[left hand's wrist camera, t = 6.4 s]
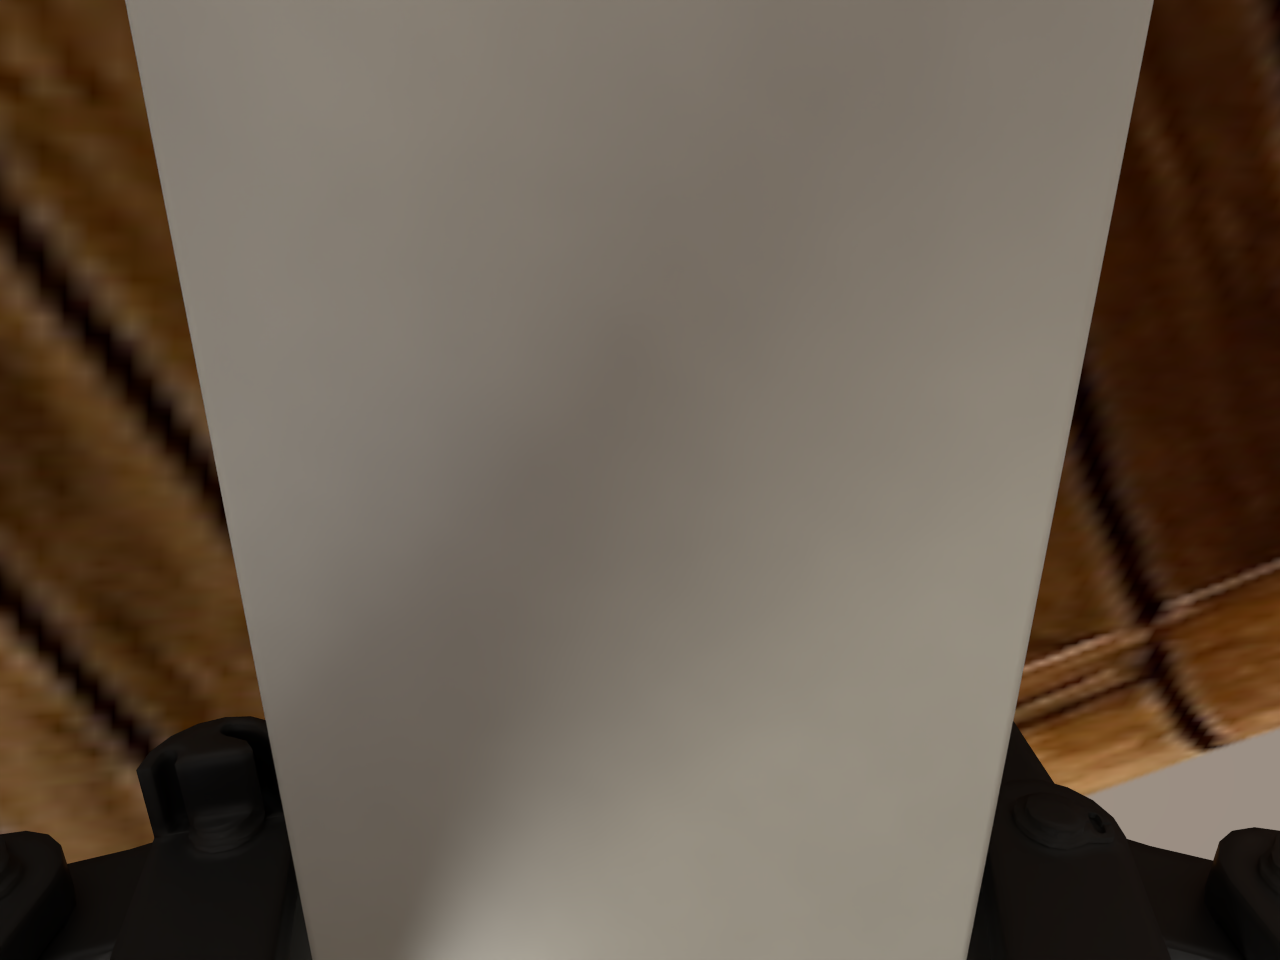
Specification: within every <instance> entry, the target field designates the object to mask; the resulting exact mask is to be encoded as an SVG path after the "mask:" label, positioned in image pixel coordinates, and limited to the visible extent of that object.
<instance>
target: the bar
mask: <svg viewBox="0 0 1280 960" xmlns="http://www.w3.org/2000/svg"><path fill="white" fill-rule="evenodd" d="M1153 1H1154V0H125V2H126V7H127V12H128V17H129V23H130V28H131V33H132V38H133V43H134V48H135V53H136V58H137V64H138V69H139V74H140V79H141V84H142V89H143V94H144V99H145V105H146V110H147V115H148V120H149V125H150V130H151V135H152V140H153V146H154V151H155V156H156V161H157V166H158V171H159V176H160V181H161V187H162V192H163V197H164V202H165V207H166V212H167V217H168V222H169V227H170V233H171V238H172V243H173V248H174V253H175V258H176V263H177V268H178V274H179V279H180V284H181V289H182V294H183V299H184V304H185V309H186V315H187V320H188V325H189V330H190V335H191V340H192V345H193V350H194V356H195V361H196V366H197V371H198V376H199V381H200V386H201V391H202V397H203V402H204V407H205V412H206V417H207V422H208V427H209V432H210V438H211V443H212V448H213V453H214V458H215V463H216V468H217V473H218V478H219V484H220V489H221V494H222V499H223V504H224V509H225V514H226V519H227V525H228V530H229V535H230V540H231V545H232V550H233V555H234V560H235V566H236V571H237V576H238V581H239V586H240V591H241V596H242V601H243V607H244V612H245V617H246V622H247V627H248V632H249V637H250V642H251V648H252V653H253V658H254V663H255V668H256V673H257V678H258V683H259V689H260V694H261V699H262V704H263V709H264V714H265V719H266V724H267V729H268V735H269V740H270V745H271V750H272V755H273V760H274V765H275V770H276V776H277V781H278V786H279V791H280V796H281V801H282V806H283V811H284V817H285V822H286V827H287V832H288V837H289V842H290V847H291V852H292V858H293V863H294V868H295V873H296V878H297V883H298V888H299V893H300V899H301V904H302V909H303V914H304V919H305V924H306V929H307V934H308V940H309V945H310V950H311V955H312V960H967V954H968V949H969V944H970V939H971V934H972V929H973V924H974V919H975V913H976V908H977V903H978V898H979V893H980V888H981V883H982V878H983V872H984V867H985V862H986V857H987V852H988V847H989V842H990V837H991V831H992V826H993V821H994V816H995V811H996V806H997V801H998V795H999V790H1000V785H1001V780H1002V775H1003V770H1004V765H1005V760H1006V754H1007V749H1008V744H1009V739H1010V734H1011V729H1012V724H1013V719H1014V713H1015V708H1016V703H1017V698H1018V693H1019V688H1020V683H1021V678H1022V672H1023V667H1024V662H1025V657H1026V652H1027V647H1028V642H1029V637H1030V631H1031V626H1032V621H1033V616H1034V611H1035V606H1036V601H1037V596H1038V590H1039V585H1040V580H1041V575H1042V570H1043V565H1044V560H1045V555H1046V549H1047V544H1048V539H1049V534H1050V529H1051V524H1052V519H1053V513H1054V508H1055V503H1056V498H1057V493H1058V488H1059V483H1060V478H1061V472H1062V467H1063V462H1064V457H1065V452H1066V447H1067V442H1068V437H1069V431H1070V426H1071V421H1072V416H1073V411H1074V406H1075V401H1076V396H1077V390H1078V385H1079V380H1080V375H1081V370H1082V365H1083V360H1084V355H1085V349H1086V344H1087V339H1088V334H1089V329H1090V324H1091V319H1092V314H1093V308H1094V303H1095V298H1096V293H1097V288H1098V283H1099V278H1100V273H1101V267H1102V262H1103V257H1104V252H1105V247H1106V242H1107V237H1108V232H1109V226H1110V221H1111V216H1112V211H1113V206H1114V201H1115V196H1116V190H1117V185H1118V180H1119V175H1120V170H1121V165H1122V160H1123V155H1124V149H1125V144H1126V139H1127V134H1128V129H1129V124H1130V119H1131V114H1132V108H1133V103H1134V98H1135V93H1136V88H1137V83H1138V78H1139V73H1140V67H1141V62H1142V57H1143V52H1144V47H1145V42H1146V37H1147V32H1148V26H1149V21H1150V16H1151V11H1152V6H1153Z"/></svg>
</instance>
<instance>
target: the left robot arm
mask: <svg viewBox="0 0 1280 960" xmlns="http://www.w3.org/2000/svg"><path fill="white" fill-rule="evenodd" d="M136 771H137V775H138V778H139V782H140V786H141V789H142V793H143V797H144V801H145V804H146V808H147V812H148V815H149V819H150V823H151V826H152V830H153V834H154V841H153V843H149V844H146V845H143V846H140V847H136V848H133V849H130V850H126V851H121V852H117V853H113V854H108V855H104V856H100V857H96V858H91V859H87V860H83V861H78V862H74V863H70V864H67V863H66V859H65V856H64V853H63V850H62V847H61V845H60V844H59V843H58V842H57V841H55V840H54V839H53V838H52V837H51V836H50V835H48V834H42V833H36V832H30V831H22V832H15V833H7V834H0V960H312V955H311V950H310V945H309V940H308V934H307V929H306V924H305V919H304V914H303V909H302V904H301V899H300V893H299V888H298V883H297V878H296V873H295V868H294V863H293V858H292V852H291V847H290V842H289V837H288V832H287V827H286V822H285V817H284V811H283V806H282V801H281V796H280V791H279V786H278V781H277V776H276V770H275V765H274V760H273V755H272V750H271V745H270V740H269V735H268V729H267V724H266V720H263V719H259V718H255V717H251V716H247V717H224V718H220V719H216V720H212V721H208V722H204V723H200V724H197V725H195V726H192V727H190V728H188V729H186V730H184V731H181V732H179V733H177V734H175V735H173V736H171V737H169V738H168V739H167V740H165V741H164V742H163V743H161V744H160V745H159V746H157V747H156V748H155V749H153V750H152V751H151V752H149V754H148V755H147V756H146V758H145V759H144V760H143V762H142V763H141V765H140V766H139V767H138V769H137V770H136ZM967 960H1280V831H1277V830H1270V829H1263V828H1256V827H1253V828H1247V829H1241V830H1235V831H1231V832H1230V833H1229V834H1228V835H1227V836H1226V837H1224V838H1223V839H1222V840H1221V841H1220V842H1219V845H1218V848H1217V851H1216V854H1215V857H1214V860H1213V861H1212V860H1208V859H1203V858H1199V857H1195V856H1191V855H1186V854H1182V853H1178V852H1173V851H1169V850H1165V849H1160V848H1156V847H1152V846H1148V845H1145V844H1142V843H1138V842H1135V841H1132V840H1128V839H1126V837H1125V835H1124V833H1123V832H1122V830H1121V829H1120V827H1119V826H1118V824H1117V822H1116V821H1115V819H1114V818H1113V817H1112V816H1111V815H1110V814H1108V813H1107V812H1106V811H1105V810H1104V809H1103V808H1101V807H1100V806H1099V805H1098V804H1097V803H1095V802H1094V801H1093V800H1091V799H1089V798H1087V797H1085V796H1083V795H1081V794H1080V793H1078V792H1076V791H1074V790H1072V789H1070V788H1068V787H1064V786H1061V785H1057V784H1054V782H1053V781H1052V779H1051V778H1050V776H1049V775H1048V773H1047V772H1046V770H1045V768H1044V767H1043V765H1042V764H1041V762H1040V761H1039V759H1038V758H1037V756H1036V755H1035V753H1034V752H1033V750H1032V749H1031V747H1030V746H1029V744H1028V743H1027V741H1026V740H1025V738H1024V737H1023V735H1022V734H1021V732H1020V731H1019V729H1018V727H1017V726H1016V724H1015V723H1014V721H1013V724H1012V729H1011V734H1010V739H1009V744H1008V749H1007V754H1006V760H1005V765H1004V770H1003V775H1002V780H1001V785H1000V790H999V795H998V801H997V806H996V811H995V816H994V821H993V826H992V831H991V837H990V842H989V847H988V852H987V857H986V862H985V867H984V872H983V878H982V883H981V888H980V893H979V898H978V903H977V908H976V913H975V919H974V924H973V929H972V934H971V939H970V944H969V949H968V954H967Z"/></svg>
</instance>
